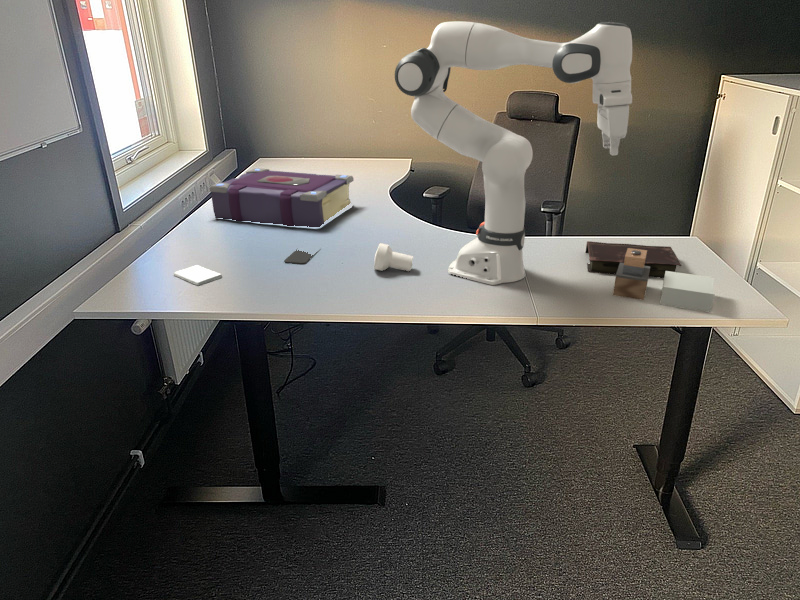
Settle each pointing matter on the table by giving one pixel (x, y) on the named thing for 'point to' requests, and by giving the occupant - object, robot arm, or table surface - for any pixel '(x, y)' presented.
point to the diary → (611, 254)
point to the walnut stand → (631, 284)
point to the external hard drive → (197, 275)
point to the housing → (634, 262)
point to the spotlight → (391, 259)
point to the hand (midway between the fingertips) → (610, 151)
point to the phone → (298, 257)
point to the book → (281, 197)
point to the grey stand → (688, 291)
